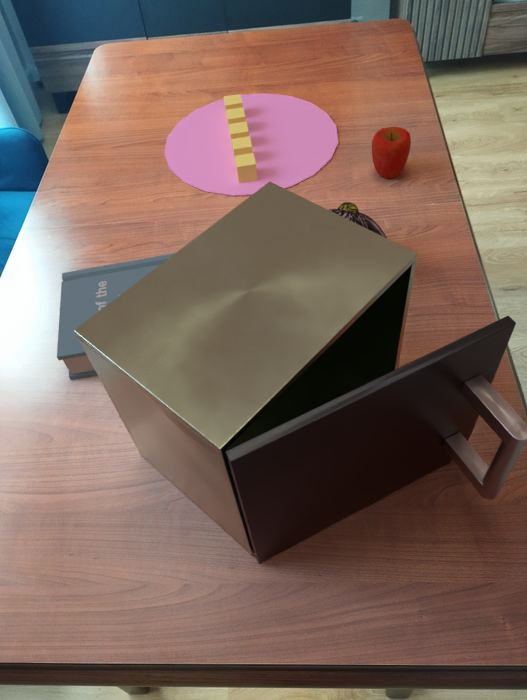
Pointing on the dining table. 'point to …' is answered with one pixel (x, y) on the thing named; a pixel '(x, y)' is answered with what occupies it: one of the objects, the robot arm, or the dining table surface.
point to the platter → (251, 143)
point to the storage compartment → (248, 337)
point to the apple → (390, 151)
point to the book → (93, 304)
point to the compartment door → (378, 443)
